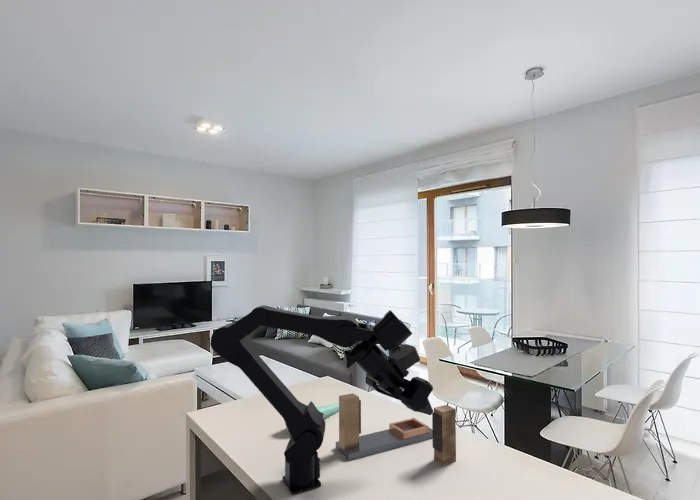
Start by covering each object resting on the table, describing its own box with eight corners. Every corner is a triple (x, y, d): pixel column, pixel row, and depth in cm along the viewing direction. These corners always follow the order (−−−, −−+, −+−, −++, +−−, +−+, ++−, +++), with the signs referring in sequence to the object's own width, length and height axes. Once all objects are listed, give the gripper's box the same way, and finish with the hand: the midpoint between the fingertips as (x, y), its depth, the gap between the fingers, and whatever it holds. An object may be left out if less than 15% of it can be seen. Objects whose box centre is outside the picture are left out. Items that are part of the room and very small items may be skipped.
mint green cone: (356, 389, 126) (299, 415, 104) (356, 406, 126) (299, 436, 104) (343, 386, 129) (284, 411, 107) (343, 403, 129) (284, 431, 107)
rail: (348, 460, 91) (348, 402, 91) (335, 448, 97) (335, 393, 97) (435, 437, 103) (434, 385, 103) (419, 427, 109) (418, 378, 109)
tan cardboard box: (440, 466, 88) (440, 412, 89) (432, 460, 91) (431, 408, 91) (456, 461, 90) (455, 408, 91) (447, 455, 93) (446, 404, 93)
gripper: (424, 341, 78) (466, 388, 82) (375, 328, 94) (413, 368, 99) (392, 387, 74) (438, 434, 78) (347, 365, 90) (387, 404, 95)
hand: (418, 406), depth 88 cm, fingers open, 9 cm apart
